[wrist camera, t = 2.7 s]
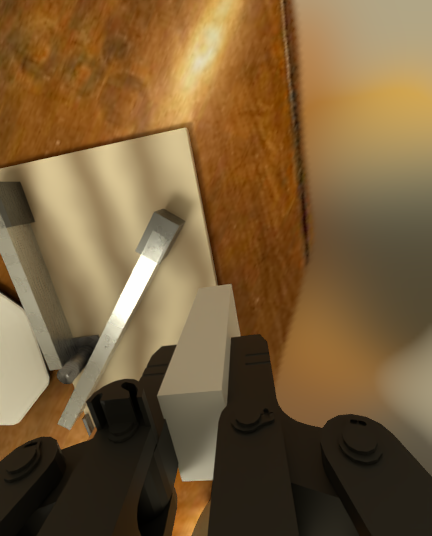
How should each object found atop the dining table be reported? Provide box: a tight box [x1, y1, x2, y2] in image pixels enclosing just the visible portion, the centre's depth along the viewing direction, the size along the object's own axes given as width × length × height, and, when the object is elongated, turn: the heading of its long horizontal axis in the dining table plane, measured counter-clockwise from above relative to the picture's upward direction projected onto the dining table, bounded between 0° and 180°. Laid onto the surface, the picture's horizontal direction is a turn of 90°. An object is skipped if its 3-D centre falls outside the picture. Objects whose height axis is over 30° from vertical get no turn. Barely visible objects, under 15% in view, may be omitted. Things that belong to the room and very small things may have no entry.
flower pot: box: [192, 499, 211, 536], centre depth 36 cm, size 10×10×7 cm
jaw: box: [58, 208, 186, 430], centre depth 29 cm, size 2×28×3 cm, turn 150°
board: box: [0, 127, 218, 428], centre depth 31 cm, size 20×36×1 cm, turn 10°
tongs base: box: [0, 182, 109, 437], centre depth 29 cm, size 5×34×4 cm, turn 10°
